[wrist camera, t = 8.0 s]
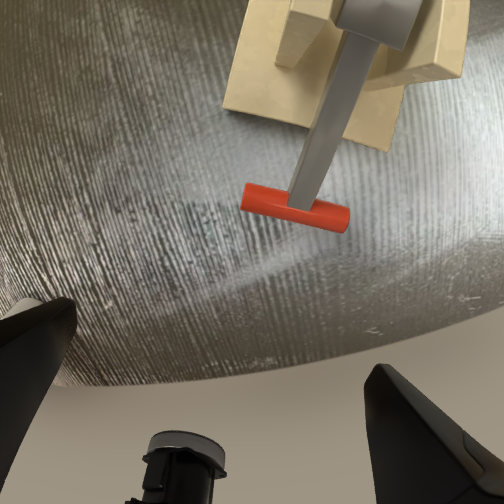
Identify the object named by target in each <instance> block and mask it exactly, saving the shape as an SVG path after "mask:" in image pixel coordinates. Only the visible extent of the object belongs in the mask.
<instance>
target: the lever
mask: <svg viewBox="0 0 504 504" xmlns="http://www.w3.org/2000/svg"><path fill="white" fill-rule="evenodd" d="M422 2H423V0H334V1H333V5H332V10H331V14H330V18H331V20H332V22H333V23H334V25H335V26H336V27H337V28H339V29H342V30H343V33H342V36H341V39H340V42H339V45H338V48H337V51H336V54H335V57H334V60H333V63H332V66H331V69H330V71H329V74H328V77H327V80H326V83H325V86H324V89H323V92H322V95H321V98H320V100H319V103H318V106H317V109H316V112H315V115H314V118H313V121H312V123H311V126H310V129H309V132H308V135H307V138H306V141H305V143H304V146H303V149H302V152H301V155H300V158H299V160H298V163H297V166H296V169H295V172H294V175H293V177H292V180H291V183H290V186H289V189H288V191H283V190H279V189H275V188H270V187H266V186H261V185H257V184H253V183H248V182H247V183H246V184H245V188H244V193H243V197H242V202H241V206H240V210H242V211H246V212H251V213H255V214H260V215H264V216H269V217H273V218H277V219H282V220H286V221H291V222H295V223H299V224H303V225H308V226H312V227H316V228H320V229H324V230H328V231H332V232H337V233H344V232H345V230H346V229H347V226H348V224H349V220H350V209H349V208H348V207H346V206H342V205H338V204H335V203H331V202H327V201H323V200H319V199H315V198H316V196H317V194H318V191H319V189H320V187H321V185H322V182H323V180H324V178H325V175H326V173H327V171H328V169H329V166H330V164H331V162H332V159H333V157H334V155H335V152H336V150H337V148H338V145H339V143H340V141H341V138H342V136H343V134H344V131H345V129H346V127H347V124H348V122H349V119H350V117H351V115H352V112H353V110H354V107H355V105H356V103H357V100H358V98H359V95H360V93H361V90H362V88H363V85H364V83H365V80H366V78H367V75H368V73H369V70H370V68H371V65H372V63H373V60H374V58H375V55H376V53H377V50H378V48H379V45H380V43H381V44H383V45H386V46H388V47H391V48H393V49H395V50H398V51H400V52H402V51H403V49H404V47H405V44H406V42H407V40H408V37H409V35H410V32H411V30H412V27H413V25H414V22H415V20H416V17H417V15H418V12H419V10H420V7H421V4H422Z"/></svg>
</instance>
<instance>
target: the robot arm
mask: <svg viewBox="0 0 504 504" xmlns="http://www.w3.org/2000/svg"><path fill="white" fill-rule="evenodd" d="M76 329H77V312H76V303H75V301H74V300H73V299H70V298H67V297H59V298H57V299H54V300H51V301H49V302H46V303H43V304H41V305H38V306H35V307H33V308H30V309H28V310H25V311H22V312H20V313H17V314H15V315H12V316H9V317H7V318H4V319H2V320H0V493H1V490H2V488H3V485H4V482H5V479H6V477H7V475H8V472H9V470H10V467H11V465H12V463H13V461H14V458H15V456H16V454H17V452H18V449H19V447H20V445H21V443H22V441H23V439H24V436H25V434H26V432H27V430H28V428H29V426H30V424H31V422H32V420H33V418H34V416H35V414H36V412H37V410H38V408H39V406H40V404H41V402H42V400H43V398H44V396H45V395H46V393H47V391H48V389H49V387H50V385H51V383H52V382H53V380H54V378H55V376H56V374H57V372H58V370H59V368H60V366H61V364H62V361H63V359H64V357H65V354H66V352H67V350H68V347H69V345H70V343H71V340H72V338H73V336H74V334H75V331H76ZM364 399H365V416H366V430H367V438H368V444H369V450H370V457H371V464H372V471H373V478H374V486H375V494H376V503H377V504H504V462H503V461H501V460H500V459H499V458H497V457H496V456H495V455H493V454H492V453H491V452H490V451H488V450H487V449H486V448H484V447H483V446H482V445H481V444H479V443H478V442H477V441H476V440H475V439H474V438H472V437H471V436H470V435H469V434H468V433H467V432H466V431H464V430H463V429H462V428H461V427H460V426H459V425H458V424H457V423H455V422H454V421H453V420H452V419H451V418H450V417H449V416H447V415H446V414H445V413H444V412H443V411H442V410H441V409H439V408H438V407H437V406H436V405H435V404H434V403H433V402H431V401H430V400H429V399H428V398H427V397H426V396H425V395H423V394H422V393H421V392H420V391H419V390H418V389H417V388H416V387H415V386H413V385H412V384H411V383H410V382H409V381H408V380H407V379H405V378H404V377H403V376H402V375H401V374H400V373H399V372H397V371H396V370H395V369H394V368H393V367H392V366H391V365H389V364H380V363H379V364H377V365H376V366H375V367H374V368H373V370H372V372H371V373H370V375H369V377H368V378H367V380H366V382H365V384H364ZM142 460H143V461H144V462H146V463H147V464H148V465H147V469H146V473H145V477H144V481H143V485H142V489H143V490H144V494H143V498H142V501H139V500H137V499H136V498H131V500H130V501H125V504H212V498H213V488H214V480H215V479H221V478H225V477H226V476H227V473H226V472H225V471H224V470H222V469H220V468H219V467H217V466H216V465H214V464H213V463H211V462H210V461H208V460H207V459H205V458H204V457H203V456H201V455H200V454H198V453H197V452H195V451H194V450H193V449H191V448H189V447H182V448H177V449H173V450H168V451H163V452H159V453H154V454H148V455H144V456H143V458H142Z"/></svg>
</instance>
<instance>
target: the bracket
mask: <svg viewBox="0 0 504 504" xmlns="http://www.w3.org/2000/svg"><path fill="white" fill-rule="evenodd" d="M333 1H334V0H249V4H248V7H247V11H246V14H245V18H244V21H243V25H242V29H241V33H240V36H239V40H238V44H237V48H236V52H235V56H234V60H233V64H232V68H231V72H230V76H229V80H228V84H227V89H226V93H225V97H224V101H223V106H222V108H223V109H227V110H232V111H237V112H242V113H247V114H252V115H256V116H261V117H265V118H270V119H274V120H278V121H282V122H286V123H290V124H294V125H298V126H302V127H306V128H309V129H310V126H311V123H312V121H313V118H314V115H315V112H316V109H317V106H318V103H319V100H320V98H321V95H322V92H323V89H324V86H325V83H326V80H327V77H328V74H329V71H330V69H331V66H332V63H333V60H334V57H335V54H336V51H337V48H338V45H339V42H340V39H341V36H342V33H343V30H342V29H339V28H337V27H336V26H335V25H334V23H333V22H332V20H331V18H330V14H331V10H332V5H333ZM469 11H470V0H423V2H422V4H421V7H420V10H419V12H418V15H417V17H416V20H415V22H414V25H413V27H412V30H411V32H410V35H409V37H408V40H407V42H406V44H405V47H404V49H403V51H402V52H400V51H398V50H395V49H393V48H391V47H388V46H386V45H383V44H381V43H380V45H379V48H378V50H377V53H376V55H375V58H374V60H373V63H372V65H371V68H370V70H369V73H368V75H367V78H366V80H365V83H364V85H363V88H362V90H361V93H360V95H359V98H358V100H357V103H356V105H355V107H354V110H353V112H352V115H351V117H350V119H349V122H348V124H347V127H346V129H345V131H344V134H343V136H342V138H344V139H347V140H350V141H353V142H357V143H360V144H363V145H366V146H369V147H372V148H375V149H377V150H380V151H384V152H387V153H388V152H389V149H390V145H391V141H392V138H393V134H394V130H395V126H396V122H397V118H398V114H399V110H400V106H401V102H402V98H403V93H404V89H405V85H409V84H416V83H423V82H430V81H438V80H446V79H456V78H461V75H462V69H463V63H464V56H465V49H466V41H467V33H468V23H469Z"/></svg>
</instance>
